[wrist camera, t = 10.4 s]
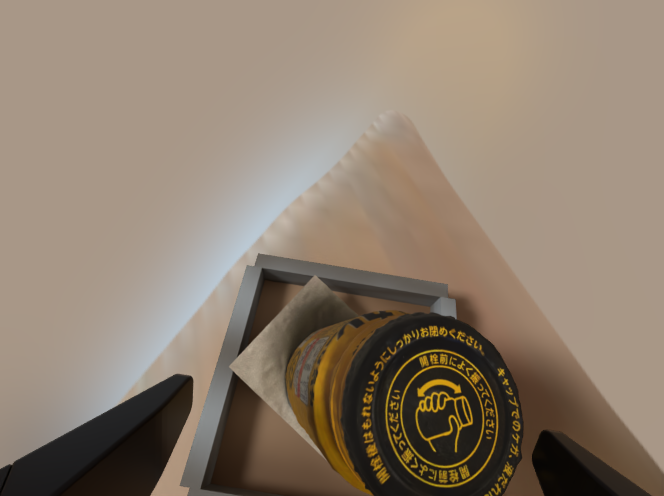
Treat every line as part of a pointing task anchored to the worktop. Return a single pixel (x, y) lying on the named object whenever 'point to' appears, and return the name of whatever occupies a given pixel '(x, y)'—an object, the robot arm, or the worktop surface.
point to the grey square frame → (254, 413)
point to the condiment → (390, 396)
